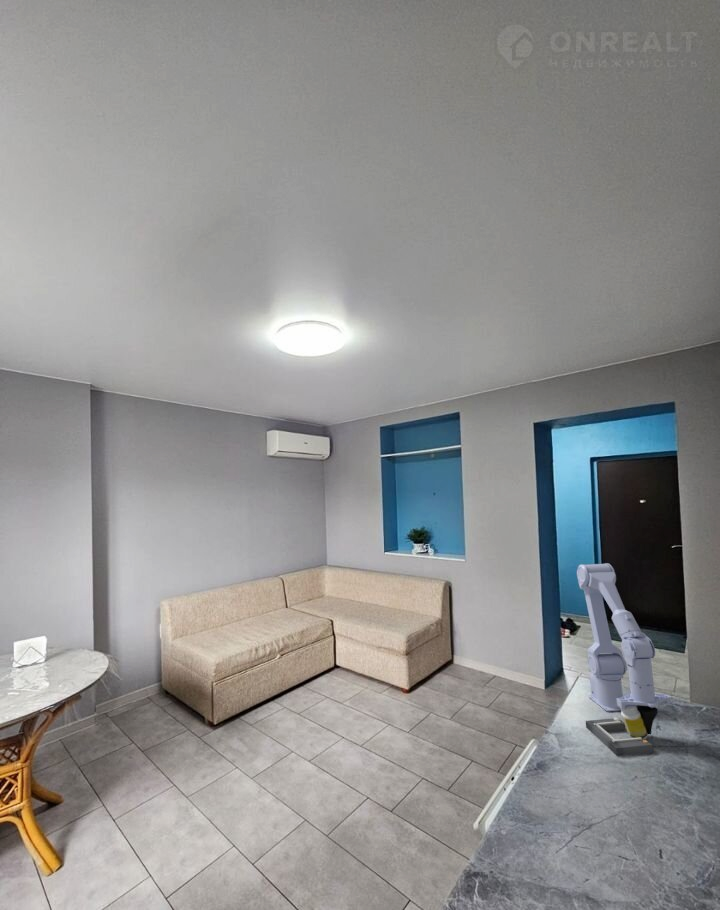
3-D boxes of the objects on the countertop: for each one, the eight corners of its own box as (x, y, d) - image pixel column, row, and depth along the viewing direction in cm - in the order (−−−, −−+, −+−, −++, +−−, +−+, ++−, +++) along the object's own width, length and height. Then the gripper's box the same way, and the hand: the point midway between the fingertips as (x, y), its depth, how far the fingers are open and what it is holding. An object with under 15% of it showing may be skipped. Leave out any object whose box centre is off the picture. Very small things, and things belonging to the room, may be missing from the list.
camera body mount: (586, 727, 120) (585, 718, 121) (618, 724, 121) (617, 715, 121) (616, 755, 107) (615, 745, 108) (652, 751, 108) (651, 742, 108)
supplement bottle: (652, 737, 112) (641, 707, 113) (636, 743, 112) (625, 713, 113) (639, 726, 117) (629, 697, 118) (624, 732, 117) (614, 703, 117)
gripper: (627, 690, 112) (632, 743, 110) (677, 685, 113) (683, 738, 111) (609, 678, 119) (614, 728, 117) (656, 674, 120) (662, 723, 118)
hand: (646, 732), depth 115 cm, fingers closed, pressing on supplement bottle
